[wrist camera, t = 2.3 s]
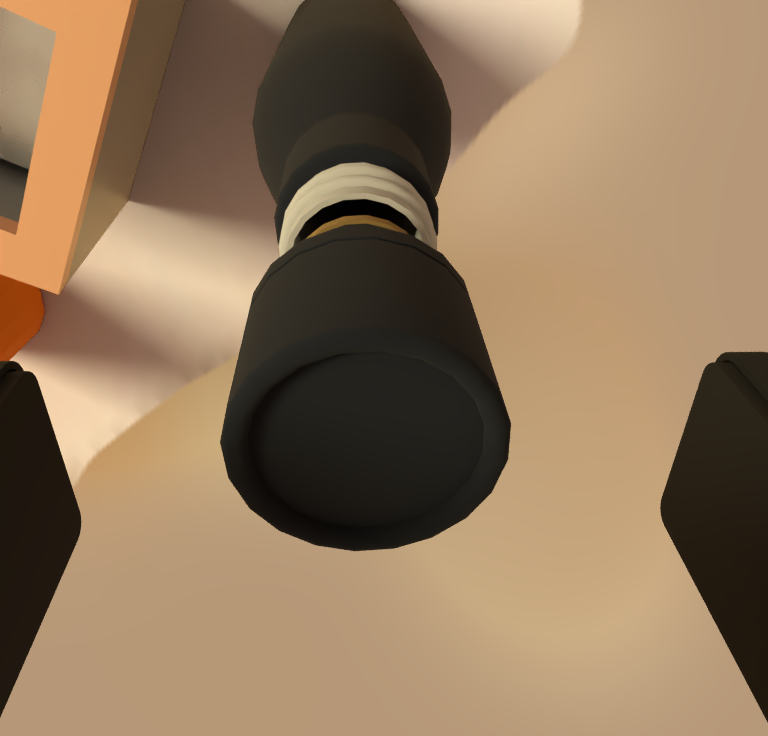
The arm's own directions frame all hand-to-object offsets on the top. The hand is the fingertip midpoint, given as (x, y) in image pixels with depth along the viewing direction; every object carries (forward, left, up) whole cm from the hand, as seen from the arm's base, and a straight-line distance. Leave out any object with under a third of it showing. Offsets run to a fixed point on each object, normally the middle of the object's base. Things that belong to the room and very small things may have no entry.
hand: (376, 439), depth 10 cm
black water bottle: (0, 0, -29) cm, 29 cm away
